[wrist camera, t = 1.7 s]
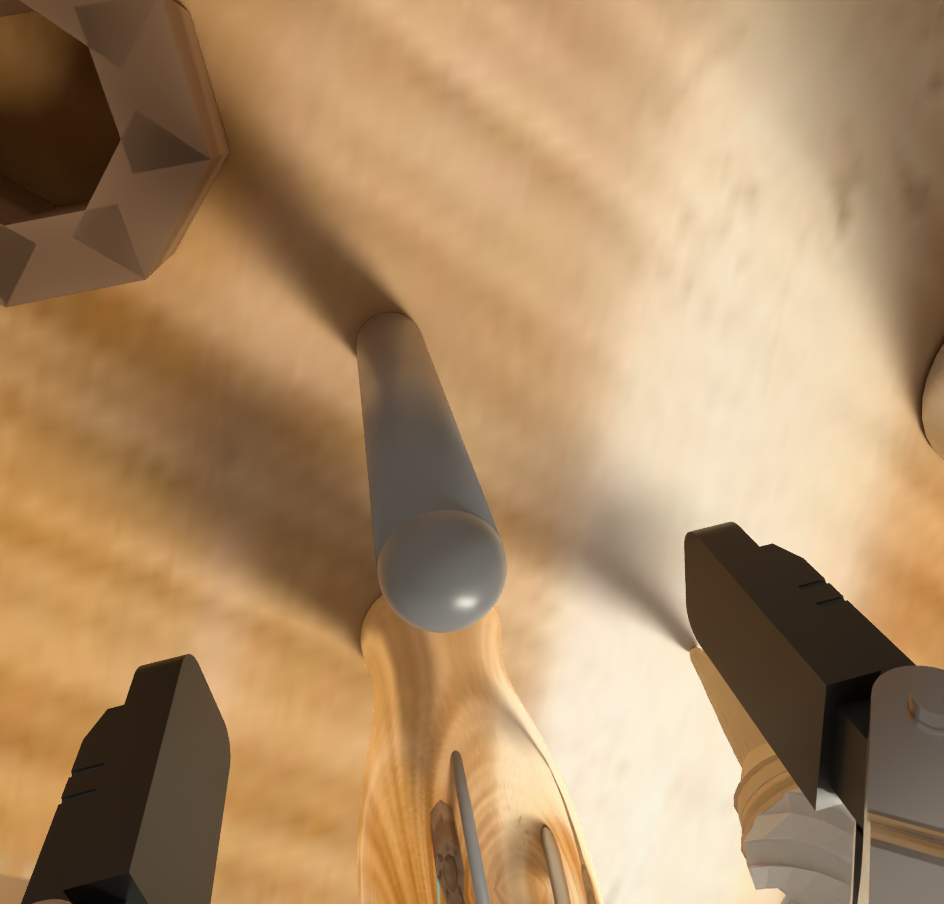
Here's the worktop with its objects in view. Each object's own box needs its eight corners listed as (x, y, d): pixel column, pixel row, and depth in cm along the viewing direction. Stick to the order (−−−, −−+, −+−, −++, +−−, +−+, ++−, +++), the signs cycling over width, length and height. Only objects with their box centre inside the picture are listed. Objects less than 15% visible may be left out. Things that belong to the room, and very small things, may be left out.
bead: (156, -101, 20) (117, -147, 16) (255, 237, 24) (241, 260, 20) (-193, -46, 19) (-315, -82, 15) (-29, 292, 23) (-96, 327, 19)
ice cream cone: (766, 611, 35) (1037, 928, 21) (718, 700, 37) (938, 1040, 23) (665, 595, 33) (888, 926, 20) (620, 689, 35) (795, 1045, 22)
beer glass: (353, 564, 30) (369, 940, 16) (518, 563, 31) (657, 909, 18) (346, 695, 32) (356, 1106, 19) (497, 688, 34) (605, 1069, 20)
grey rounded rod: (416, 305, 25) (509, 531, 12) (428, 369, 27) (528, 642, 13) (349, 319, 25) (366, 565, 12) (364, 383, 26) (397, 674, 13)
